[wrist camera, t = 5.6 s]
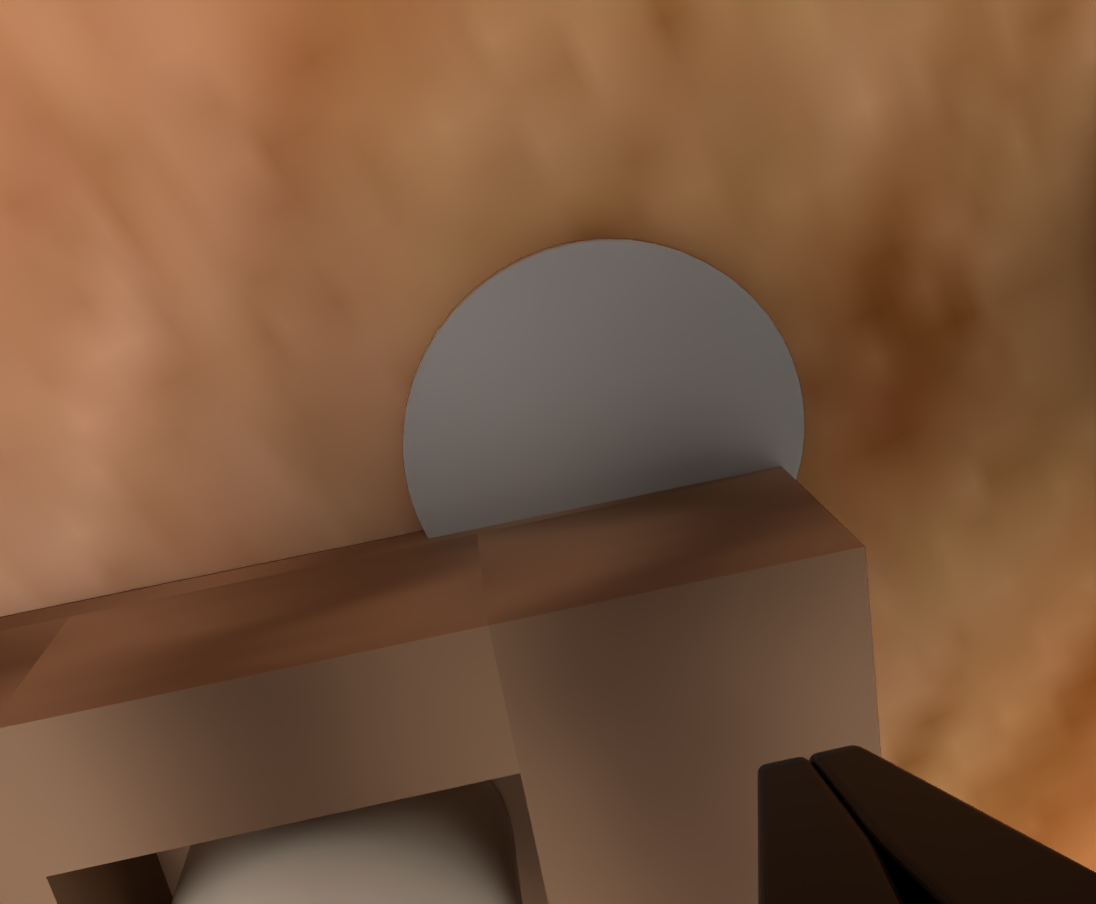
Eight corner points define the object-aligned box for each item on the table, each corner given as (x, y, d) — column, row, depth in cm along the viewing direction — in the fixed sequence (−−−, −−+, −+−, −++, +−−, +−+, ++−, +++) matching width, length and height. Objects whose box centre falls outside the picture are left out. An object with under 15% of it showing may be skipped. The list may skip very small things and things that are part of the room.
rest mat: (776, 202, 17) (785, 204, 16) (812, 576, 19) (820, 586, 19) (361, 281, 16) (360, 285, 16) (448, 653, 19) (449, 664, 18)
